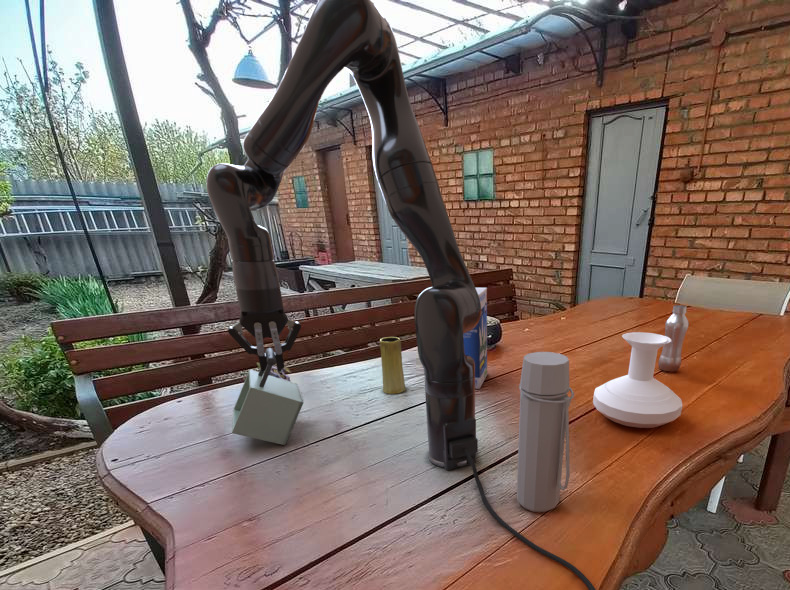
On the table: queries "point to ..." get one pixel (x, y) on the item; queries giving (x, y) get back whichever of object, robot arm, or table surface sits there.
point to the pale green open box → (267, 405)
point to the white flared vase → (639, 388)
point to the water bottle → (543, 430)
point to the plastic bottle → (674, 339)
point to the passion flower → (277, 373)
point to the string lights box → (478, 341)
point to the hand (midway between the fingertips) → (273, 371)
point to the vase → (392, 365)
